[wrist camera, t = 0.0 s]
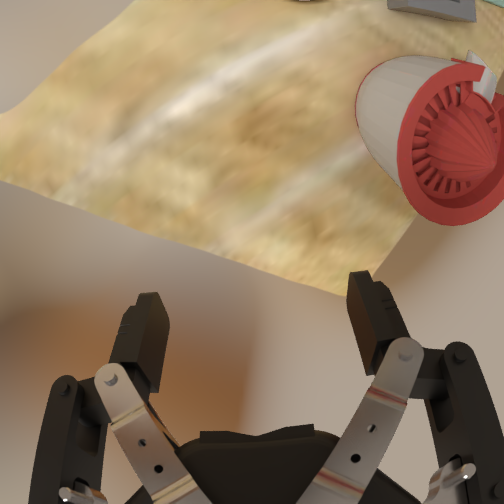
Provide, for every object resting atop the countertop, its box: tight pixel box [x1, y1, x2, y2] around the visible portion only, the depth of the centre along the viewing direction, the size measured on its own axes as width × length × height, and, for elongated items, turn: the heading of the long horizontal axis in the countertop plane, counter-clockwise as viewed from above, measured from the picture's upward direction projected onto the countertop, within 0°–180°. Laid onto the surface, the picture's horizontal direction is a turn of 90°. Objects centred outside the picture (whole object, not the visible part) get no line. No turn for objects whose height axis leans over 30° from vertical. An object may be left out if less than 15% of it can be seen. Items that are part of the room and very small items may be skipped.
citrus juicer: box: [355, 50, 504, 226], centre depth 26 cm, size 16×17×20 cm
